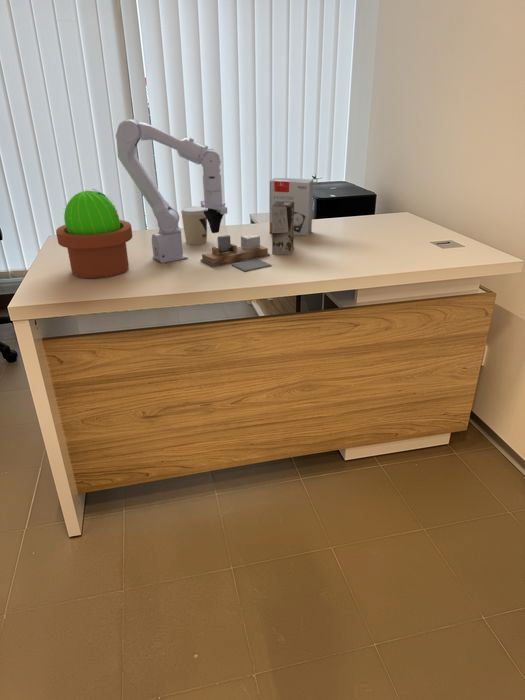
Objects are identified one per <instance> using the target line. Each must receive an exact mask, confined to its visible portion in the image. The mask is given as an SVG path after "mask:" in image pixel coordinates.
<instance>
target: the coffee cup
mask: <svg viewBox="0 0 525 700" xmlns="http://www.w3.org/2000/svg"><path fill="white" fill-rule="evenodd" d="M207 210H208V209H207V208H205V207H201V206H195V205H194V206H186V207H183V208H182V209H181V212H180V213H181V218H182V227H183V230H184V231H183V232H184V238H185V243H186V244H187V245H202V244H205V243H208V242H207V240H208V220H207V218H206V216H205V214H204V211H207Z"/></svg>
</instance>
